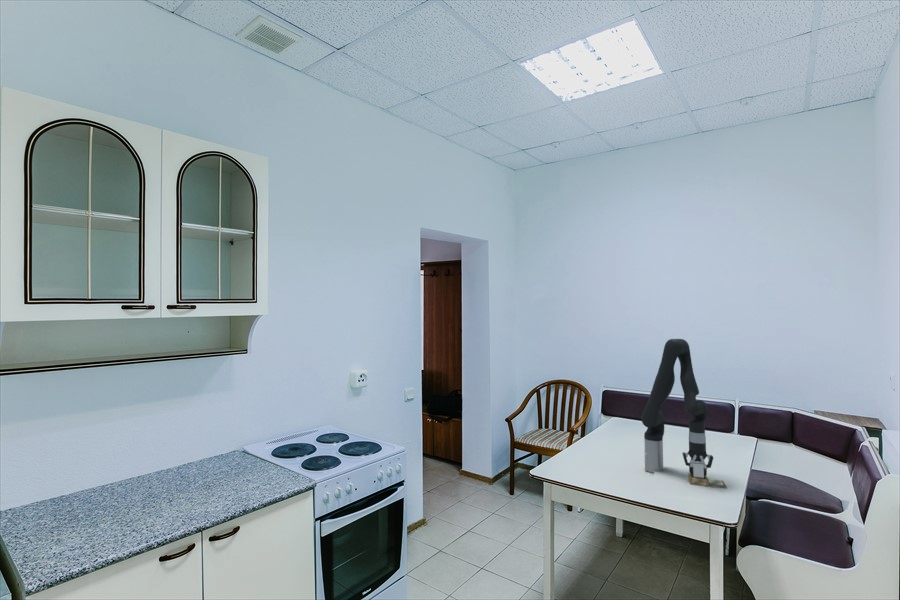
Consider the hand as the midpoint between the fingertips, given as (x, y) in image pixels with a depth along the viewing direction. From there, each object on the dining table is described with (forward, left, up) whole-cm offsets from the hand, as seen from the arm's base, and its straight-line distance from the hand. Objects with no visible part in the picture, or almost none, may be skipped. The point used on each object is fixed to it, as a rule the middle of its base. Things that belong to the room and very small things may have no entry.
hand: (698, 474), depth 224 cm
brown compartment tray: (+4, +2, -5) cm, 6 cm away
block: (0, 0, -4) cm, 4 cm away
